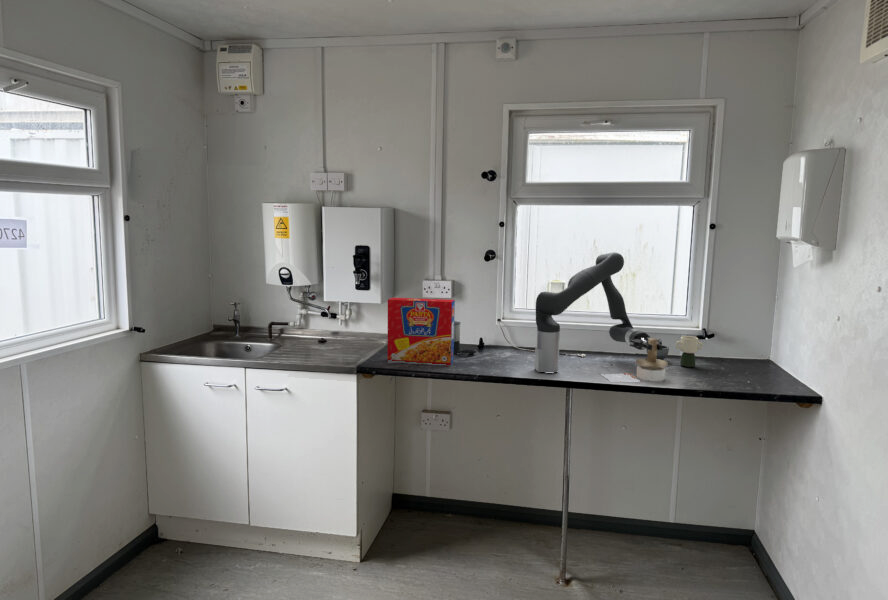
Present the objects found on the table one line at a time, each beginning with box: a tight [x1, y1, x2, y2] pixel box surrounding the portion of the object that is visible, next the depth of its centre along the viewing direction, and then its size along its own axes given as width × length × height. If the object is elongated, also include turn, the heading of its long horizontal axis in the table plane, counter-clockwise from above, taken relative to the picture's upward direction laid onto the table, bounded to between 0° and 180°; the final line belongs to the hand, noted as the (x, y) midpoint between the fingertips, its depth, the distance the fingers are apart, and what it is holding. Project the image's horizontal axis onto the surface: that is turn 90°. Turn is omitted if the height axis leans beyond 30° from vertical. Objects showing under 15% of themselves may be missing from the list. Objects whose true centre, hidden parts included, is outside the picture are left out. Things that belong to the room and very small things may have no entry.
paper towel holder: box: [635, 337, 669, 368], centre depth 225 cm, size 12×12×10 cm
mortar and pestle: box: [646, 334, 670, 361], centre depth 256 cm, size 11×9×12 cm
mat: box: [622, 372, 638, 379], centre depth 225 cm, size 13×14×1 cm
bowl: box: [636, 364, 666, 382], centre depth 226 cm, size 10×10×4 cm
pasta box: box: [387, 297, 456, 366], centre depth 246 cm, size 28×8×28 cm, turn 80°
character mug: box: [675, 335, 703, 368], centre depth 247 cm, size 11×7×13 cm, turn 80°
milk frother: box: [454, 320, 477, 355], centre depth 265 cm, size 14×16×15 cm
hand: (655, 347), depth 222 cm, fingers closed on paper towel holder, 3 cm apart
